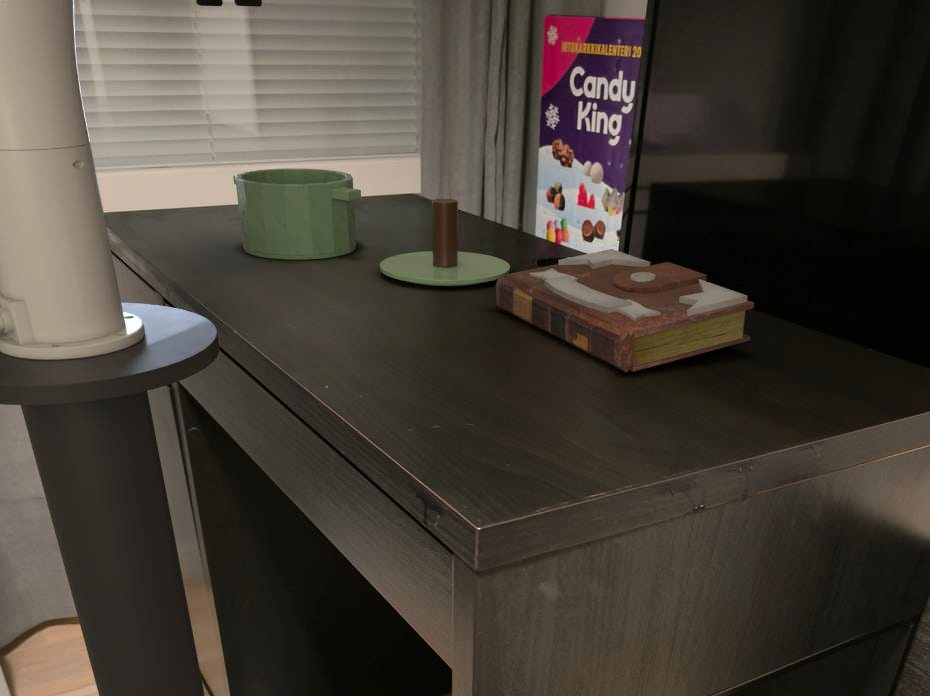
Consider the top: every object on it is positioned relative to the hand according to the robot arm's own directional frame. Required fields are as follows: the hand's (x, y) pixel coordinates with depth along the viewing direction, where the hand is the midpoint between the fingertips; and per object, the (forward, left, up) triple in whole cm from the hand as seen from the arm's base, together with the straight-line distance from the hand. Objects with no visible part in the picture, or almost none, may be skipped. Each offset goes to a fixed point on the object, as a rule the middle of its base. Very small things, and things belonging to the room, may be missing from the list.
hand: (228, 6), depth 108 cm
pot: (+4, -5, -26) cm, 27 cm away
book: (+9, -57, -26) cm, 64 cm away
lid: (+10, -28, -26) cm, 39 cm away
